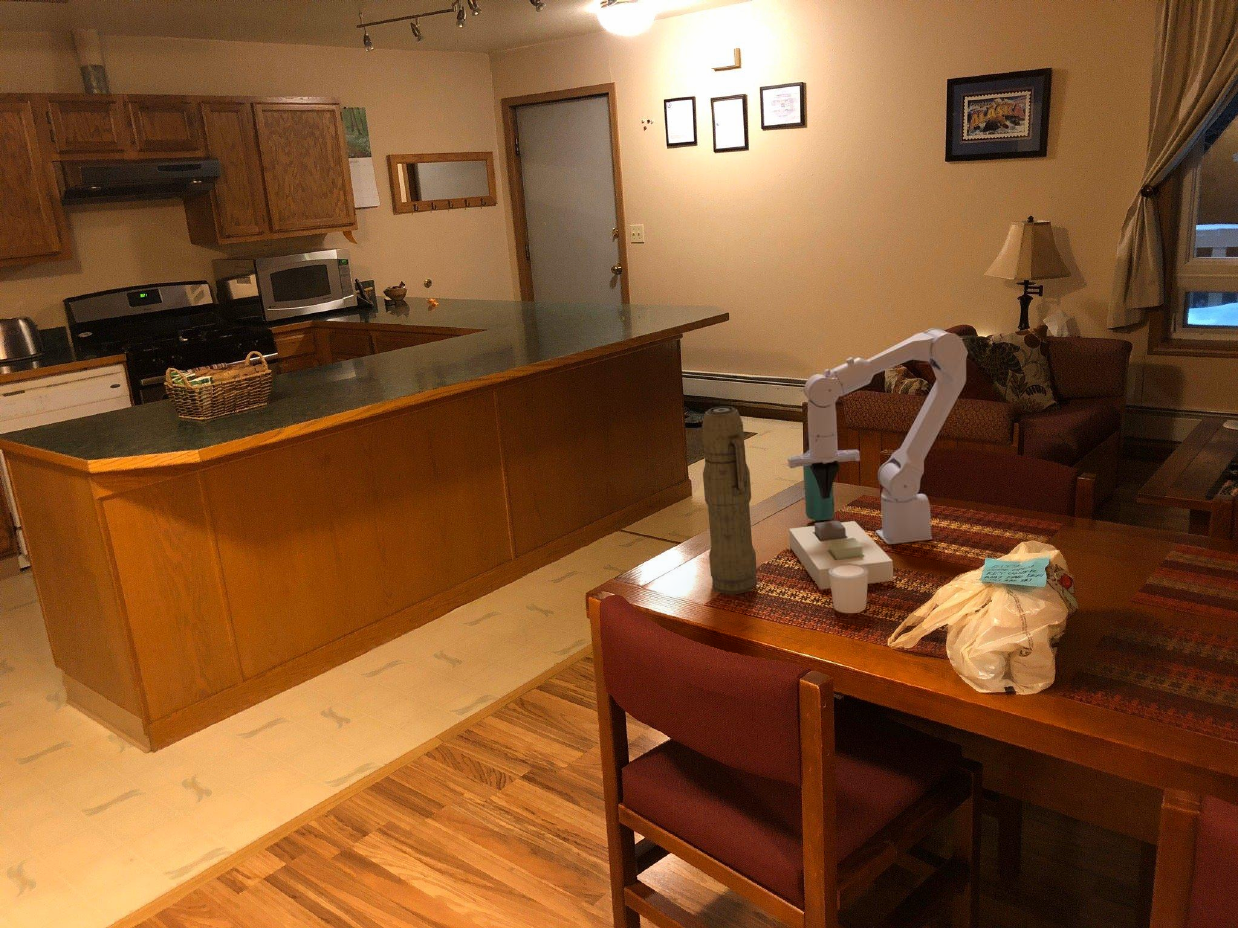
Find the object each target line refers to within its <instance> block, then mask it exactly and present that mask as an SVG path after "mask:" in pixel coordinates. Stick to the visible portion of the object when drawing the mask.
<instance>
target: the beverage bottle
mask: <svg viewBox="0 0 1238 928" xmlns="http://www.w3.org/2000/svg"><path fill="white" fill-rule="evenodd" d="M805 444H806V447H807V448H809V435H807V437H806V443H805ZM807 453H809V450H807V451H806V452H805V453H804V454H807ZM802 467H803V486H804V487H803V490H804V494H803V495H804V503H805V515H806V517H807V518H808V519H809V520H812V521H813V520H814V521H823V520H824V521H825V520H830V519H832V518H834V517H835V513H836V508H835V496H834V487H835V486H834V482H833V485H832V488H831V493H830V498H826V499H823V498H822V497H821V494H820V490H819V486H818V483H817V481H816V478H815V476H814V474H813V472H812V470H811V468H810V466H809V465H808V466H802Z"/></svg>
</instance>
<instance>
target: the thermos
mask: <svg viewBox="0 0 1238 928" xmlns="http://www.w3.org/2000/svg"><path fill="white" fill-rule="evenodd" d="M701 428H702V440H703V442H702V443H703V452H704V453H705V458H704V467H703V472H702V481H703V492H704V502H705V503H706V506H707V511H708V523H709V534H710V549H709V553H708V558H709V559H708V560H709V569H710V571H709V572H710V577H711V578H712V579H711V580H712V581H711V582H712V585H711V586H712V589H713V591H715V592H717V593H720V594H724V595H740V594H743V593H744V592H745V593H748V592H751V591H753V590H754V589H756V588H757V586H758V582H757V573H758V568H757V555H756V554H757V553H756V549H755V548H754V545H753V538H752V524H751V523H752V522H751V508H750V503H751V500H752V490H751V489H752V488H751V472H750V468H749V467H748V464H747V459H746V445H745V434H744V423H743V420H742V418H741V415H740V413H739V411H738V409H736V408H734V407H733V406H716V407H712V408H710V409H708V410H707V411H705V412H704V416H703V420H702V426H701ZM756 585H757V586H756ZM755 587H756V588H755ZM752 589H753V590H752ZM750 590H751V591H750Z"/></svg>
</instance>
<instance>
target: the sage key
mask: <svg viewBox="0 0 1238 928" xmlns="http://www.w3.org/2000/svg"><path fill="white" fill-rule="evenodd" d="M829 550H830V554H831V556H832V557H833V558H834V559H835V560H842V559H851V558H859V557H862V546H861V545H860V544H859V543H858V541H857V540H856V539H855V538H849V539H841V540H832V541H829Z"/></svg>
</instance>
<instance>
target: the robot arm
mask: <svg viewBox="0 0 1238 928" xmlns="http://www.w3.org/2000/svg"><path fill="white" fill-rule="evenodd" d="M968 354H969V352H968V350H967V347H966V345H965V343H964V341H963V339H962V338H961V337H960V336H959V335H958V334H955V333H952V332H948V331H946V330H944V329H942V328H939V327H932V328H929V329H927V330H925V331H924V332H919V333H915V334H914V335H911V336H910V337H909V338H907V339H905V340H903V341H901V342H899V343H897V344H895V345H893V346H892V347H889V348H888V349H885V350H883V351H881V352H880V353H877V354H875V355H874V356H871V357H870V358H868V359H864V358H861V357H856V358H853V357H849V358H846V359H845V361H846V362H845V363H843V364H840V365H838V366H836V367H834V368H831V369H829V368H826V369H824V370H823V371H824V374H820V373H817V374H813V375H812V376H810V377H809V378H807V381H806V382H805V384H804V387H803V393H804V396H805V398H806V399H808V400H807V429H808V431H807V432H808V436H809V447H808V449H809V453H807V454H805V453H804V454H800V455H793V456H788V457H787V466H788V467H789V468H790V469H796V468H799V467H803V466H808V465H809V466H810V468H811V470H812V472H813V474H814V476H815V478H816V481H817V483H818V486H819V490H820V494H821V497H822V498H823V499H826V498H830V493H831V488H832V485H833V483H834V481H835V479H836V477H837V474H838V473H839V472H840V465H839V463H843V462H851V461H854V462H859V461H861V459H860V458H861V456H860V455H861V454H860V451H859V450H858V449H845V450H843V449H842V450H841V449H840V450H839V449H838V428H837V427H838V425H837V410H836V402H837V401H838V400H839V397H843V396H845V395H847V394H849V393H851V392H853V391H856V390H858V389H860V388H862V387H864V386H867V385H869V384H870V383H872V379H873V378H874V375H876V374H879V373H881V372H884V371H886V370H889V369H891V368H893V367H896V366H899V365H900V364H904V363H906V362H908V361H912V360H915V361H922V362H928V363H929V364H930V366H931V369H932V372H933V373H934V376H935V378H936V379H935V382H934V383H933V386H932V387H931V390H930V392H929V393H928V395H927V396H926V399H925V400H924V403H923V405H922V406H921V408H920V410H919V412H918V414H917V416H916V417H915V420H914V422H913V423H912V425H911V428H910V429H909V431H908V433H907V434H906V436H905V438H904V441H903V442H902V444H901V446H900V447H899V448H897V449H896V450H895V451H894V452H892V453H891V456H890V457H889V459H888V460H887V461H886V462H884V463H883V464H882V465H880V467H879V469H878V472H877V479H878V482H879V484H880V485H881V486H882V488H883V489H882V490H881V491H882V492H881V494H880V499H881V500H880V501H881V502H880V503H881V529H877V530H875V533H876V534H877V536H879V538H881V539H882V540H883V541H884V542H885V543H886V544H887V545H896V544H904V543H911V542H912V543H913V542H921V541H929V540H932V539H933V537H932V529H931V528H932V527H931V526H932V525H931V521H932V520H931V519H932V518H931V506H930V505H931V504H930V501H929V499H928V496H927V495H926V494H924V493H919V491H920V487H921V478H922V476H923V474H924V472H925V466H924V465H925V459H926V457H927V455H928V453H929V452H930V450H931V447H932V446H933V444H934V442H935V441H936V438H937V436H938V434H939V432H940V431H941V429H942V427H943V426H944V424H945V421H946V419H947V418H948V416H949V414H950V412H951V410H952V409H953V407H954V405H955V404H956V401H957V399H958V397H959V396H960V395H961V392H962V390H963V388H964V386H965V385H966V382H967V356H968ZM833 486H834V485H833Z"/></svg>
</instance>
